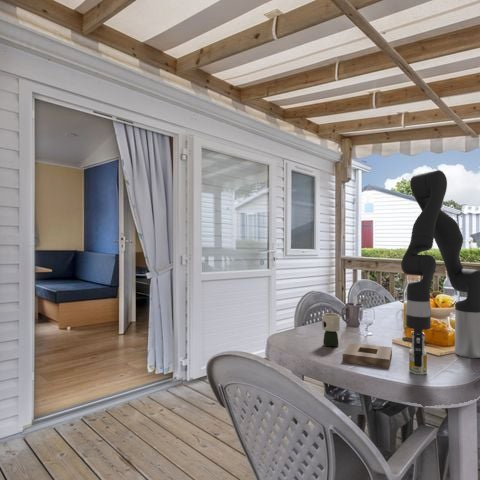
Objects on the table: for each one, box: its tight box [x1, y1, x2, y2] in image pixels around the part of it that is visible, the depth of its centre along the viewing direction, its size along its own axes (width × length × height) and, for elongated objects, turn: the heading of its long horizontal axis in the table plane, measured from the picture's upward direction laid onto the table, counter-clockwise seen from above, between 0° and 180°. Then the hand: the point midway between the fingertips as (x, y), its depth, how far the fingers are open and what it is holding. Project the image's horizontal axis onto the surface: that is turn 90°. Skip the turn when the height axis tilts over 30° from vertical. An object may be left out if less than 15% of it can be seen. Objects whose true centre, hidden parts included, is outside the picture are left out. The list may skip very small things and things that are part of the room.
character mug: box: [321, 312, 341, 348], centre depth 160 cm, size 11×7×13 cm, turn 174°
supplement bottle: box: [408, 343, 428, 376], centre depth 129 cm, size 5×5×10 cm
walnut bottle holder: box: [342, 342, 393, 369], centre depth 144 cm, size 16×16×3 cm
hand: (417, 363), depth 129 cm, fingers closed on supplement bottle, 5 cm apart
